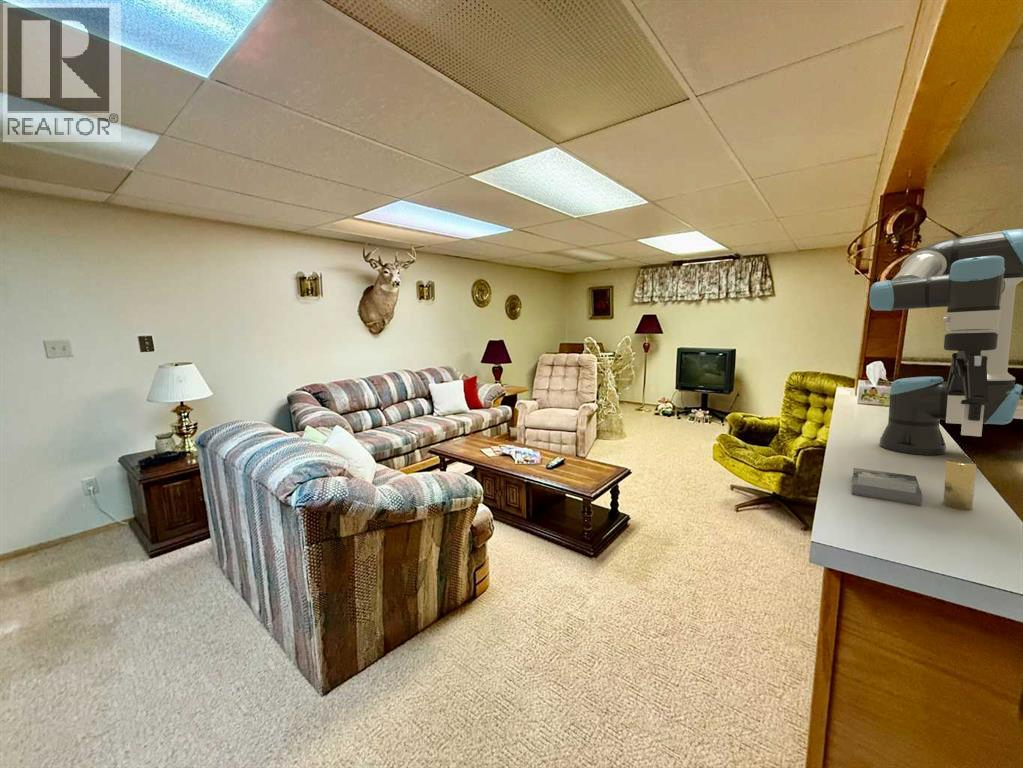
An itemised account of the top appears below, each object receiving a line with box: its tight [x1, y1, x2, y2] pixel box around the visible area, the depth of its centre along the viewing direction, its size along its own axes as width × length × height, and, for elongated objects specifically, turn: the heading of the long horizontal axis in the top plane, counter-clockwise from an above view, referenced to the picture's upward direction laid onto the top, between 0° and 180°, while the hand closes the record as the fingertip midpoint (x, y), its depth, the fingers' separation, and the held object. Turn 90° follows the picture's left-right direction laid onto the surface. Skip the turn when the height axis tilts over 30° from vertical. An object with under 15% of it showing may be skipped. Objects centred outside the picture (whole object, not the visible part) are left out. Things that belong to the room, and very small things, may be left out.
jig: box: [851, 467, 923, 506], centre depth 100 cm, size 14×12×5 cm
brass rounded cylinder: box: [942, 459, 977, 511], centre depth 89 cm, size 4×4×10 cm
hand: (962, 429), depth 88 cm, fingers open, 13 cm apart
